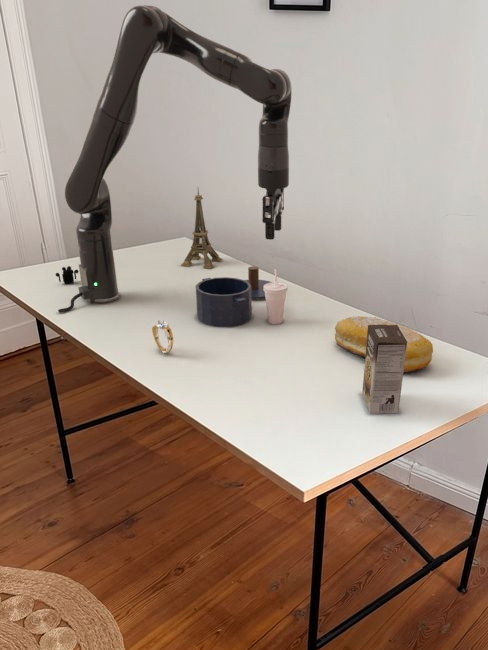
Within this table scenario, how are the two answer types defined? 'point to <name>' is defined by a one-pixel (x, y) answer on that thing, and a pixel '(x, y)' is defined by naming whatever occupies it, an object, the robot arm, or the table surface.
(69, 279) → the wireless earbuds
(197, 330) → the table surface
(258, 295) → the lid
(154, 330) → the ring
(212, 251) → the eiffel tower
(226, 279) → the pot
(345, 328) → the bread
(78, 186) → the robot arm
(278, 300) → the smoothie
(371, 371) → the coffee box
